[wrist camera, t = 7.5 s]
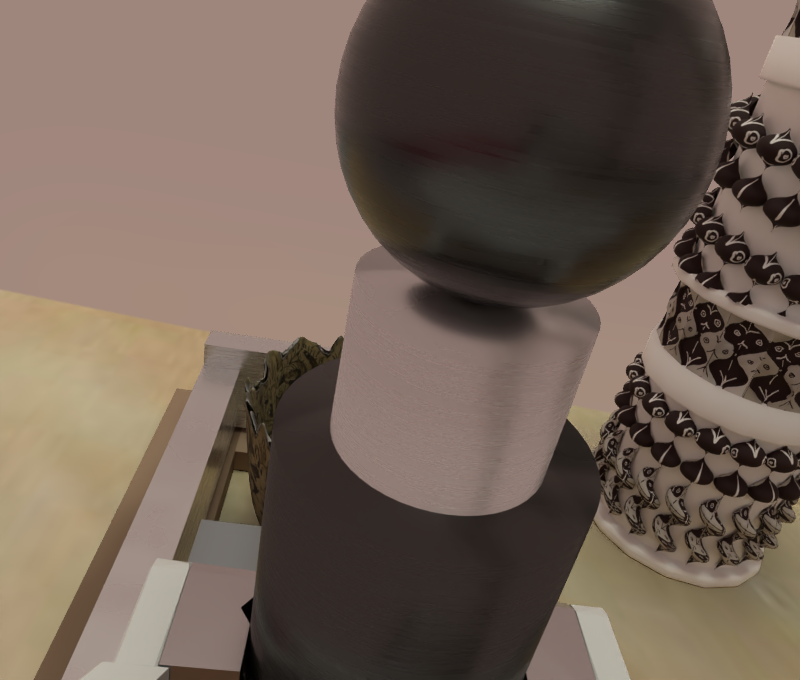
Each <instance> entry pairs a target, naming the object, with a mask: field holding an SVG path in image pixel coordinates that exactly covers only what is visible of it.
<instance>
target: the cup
mask: <svg viewBox="0 0 800 680" xmlns="http://www.w3.org/2000/svg"><path fill="white" fill-rule="evenodd" d="M343 341H344V338H343V337H342V336H340V337H338V339H337V340H336V341H335V343H334V344H333V346H332V347H331V349H330V350H329V351H327V350H325V349H324V348H322V347H321V346H320V345H318V344H317V343H314V342H311V341H309V340H307V339H306V338H304V337H300V338H298V339H296V340H295V341H294V342H293V343H292V344H291V345H290V346H289V348H288V349H287V350H284V352H283V353H281V352H279V351H276V350H271V351H269V352H268V353H267V355H266V357H265V360H264V372H263V378H262V379H261V380H260V381H255V382H254V384H253V388H252V389H251V391H250V388H251V384H250V379H249V377H247V379H246V382H245V392H244V400H245V408H246V435H247V455H248V472H249V482H250V489H251V495H252V501H253V505H254V509H255V513H256V516H257V518H258V521H259V523H260V525H261V526H262V517H263V508H264V499H265V491H266V482H267V473H268V464H269V455H270V447H271V438H272V429H273V421H274V414H275V411H276V408H277V406H278V403H279V401H280V399H281V398H282V396H283V394H284V393H285V391H286V390H287V389H288V388H289V387H290V386H291V385H292V384H293V382H294V381H296V380H297V379H298V378H299V377H301V376H302V375H303V374H305V373H306V372H308V371H310V370H311V369H313V368H315V367H317V366H319V365H321V364H324V363H326V362H328V361H331V360H334V359H338V358H341V353H342V347H343ZM321 349H322V350H321Z"/></svg>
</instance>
